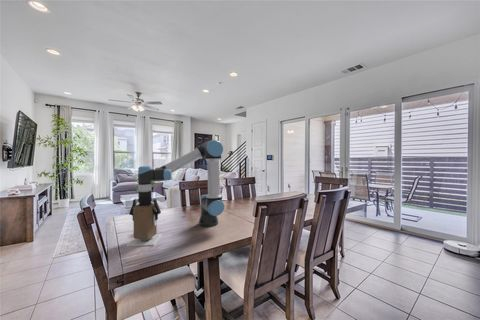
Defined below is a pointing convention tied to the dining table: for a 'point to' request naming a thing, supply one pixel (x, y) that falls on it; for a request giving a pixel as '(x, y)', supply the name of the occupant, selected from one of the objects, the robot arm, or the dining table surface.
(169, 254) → the dining table surface
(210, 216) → the robot arm
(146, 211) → the wooden block
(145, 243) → the shallow square tray
